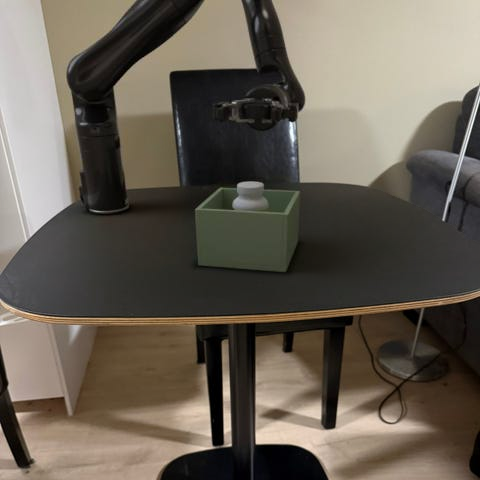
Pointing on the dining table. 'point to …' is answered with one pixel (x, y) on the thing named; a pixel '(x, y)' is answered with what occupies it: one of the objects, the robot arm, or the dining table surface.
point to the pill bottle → (250, 197)
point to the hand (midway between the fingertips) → (247, 115)
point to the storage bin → (248, 231)
